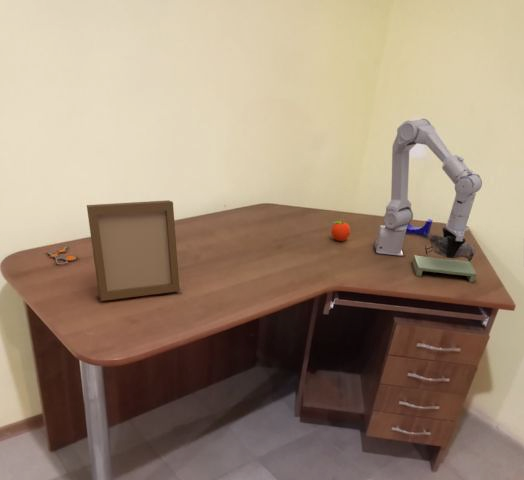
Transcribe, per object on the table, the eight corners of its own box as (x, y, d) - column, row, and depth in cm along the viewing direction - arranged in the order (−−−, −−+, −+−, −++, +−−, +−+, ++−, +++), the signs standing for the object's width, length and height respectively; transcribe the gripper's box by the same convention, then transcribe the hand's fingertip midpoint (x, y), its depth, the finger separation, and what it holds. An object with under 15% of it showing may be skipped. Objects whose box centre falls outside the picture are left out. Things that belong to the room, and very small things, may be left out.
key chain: (78, 262, 160) (78, 260, 160) (54, 266, 157) (53, 263, 156) (68, 246, 169) (68, 244, 168) (44, 250, 166) (44, 247, 165)
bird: (472, 265, 170) (479, 243, 166) (423, 258, 172) (428, 236, 167) (470, 258, 174) (477, 237, 170) (421, 251, 176) (427, 230, 172)
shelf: (416, 275, 172) (418, 267, 170) (412, 263, 180) (414, 255, 179) (474, 282, 171) (476, 274, 170) (467, 269, 180) (469, 261, 178)
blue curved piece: (396, 229, 207) (399, 215, 203) (399, 226, 210) (403, 212, 207) (425, 237, 202) (429, 223, 198) (428, 234, 205) (432, 220, 202)
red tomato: (325, 241, 191) (328, 222, 187) (329, 234, 196) (332, 216, 192) (347, 245, 189) (350, 226, 185) (350, 238, 195) (353, 220, 191)
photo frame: (179, 294, 149) (178, 209, 135) (101, 304, 141) (91, 214, 127) (166, 271, 160) (164, 191, 146) (93, 279, 152) (83, 195, 138)
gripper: (478, 223, 158) (465, 264, 166) (467, 207, 170) (455, 246, 178) (455, 220, 159) (442, 261, 166) (445, 205, 171) (434, 244, 178)
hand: (447, 253), depth 172 cm, fingers closed on bird, 5 cm apart
